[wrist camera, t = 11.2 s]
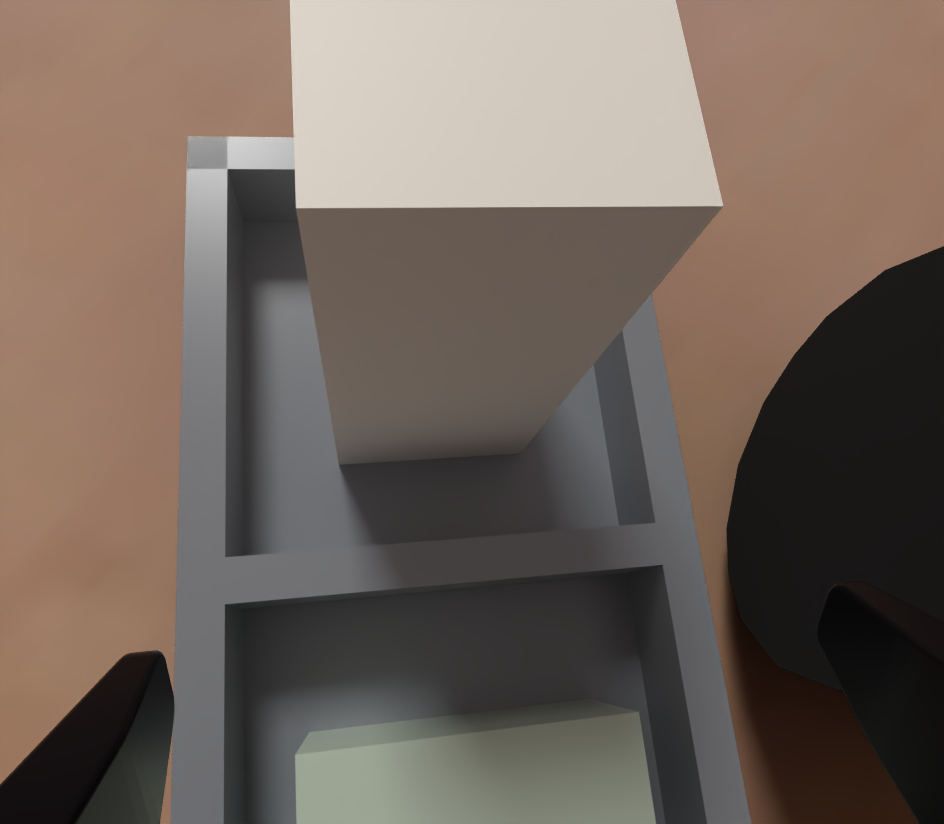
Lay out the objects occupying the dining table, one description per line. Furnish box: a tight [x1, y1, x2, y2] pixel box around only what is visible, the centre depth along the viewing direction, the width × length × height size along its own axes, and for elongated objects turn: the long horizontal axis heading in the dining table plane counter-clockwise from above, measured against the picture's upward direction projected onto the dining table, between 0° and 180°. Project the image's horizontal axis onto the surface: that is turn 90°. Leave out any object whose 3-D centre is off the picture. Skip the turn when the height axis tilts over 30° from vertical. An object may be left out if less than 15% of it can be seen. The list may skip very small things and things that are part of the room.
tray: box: [171, 136, 751, 824], centre depth 17 cm, size 23×12×4 cm, turn 6°
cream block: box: [290, 0, 723, 465], centre depth 14 cm, size 5×5×12 cm
